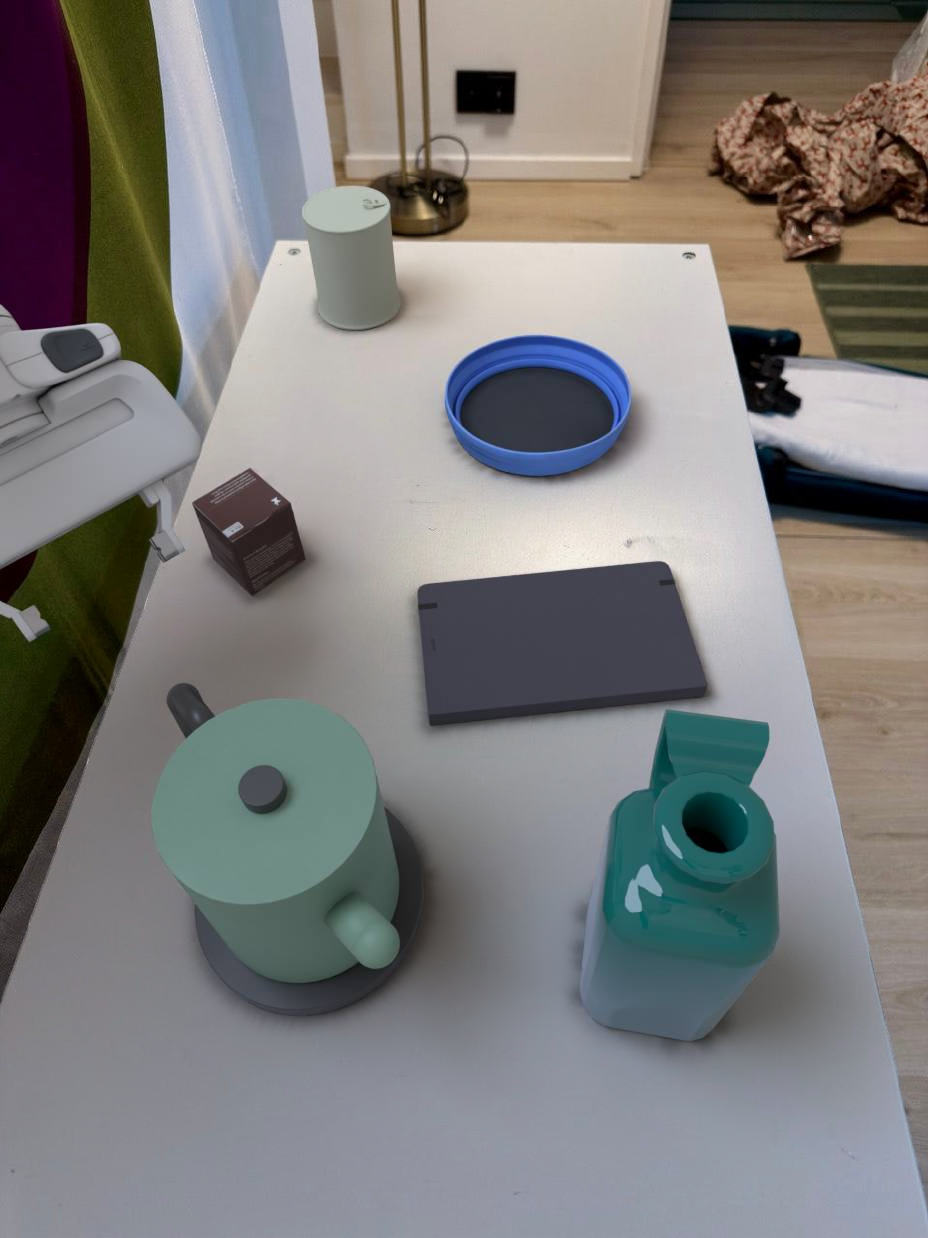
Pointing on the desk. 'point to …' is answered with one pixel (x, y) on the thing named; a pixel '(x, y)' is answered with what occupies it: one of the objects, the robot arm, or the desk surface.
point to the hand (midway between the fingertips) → (109, 595)
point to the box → (250, 530)
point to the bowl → (537, 404)
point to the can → (352, 256)
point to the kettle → (279, 835)
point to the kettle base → (336, 988)
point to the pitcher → (684, 885)
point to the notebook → (555, 642)
